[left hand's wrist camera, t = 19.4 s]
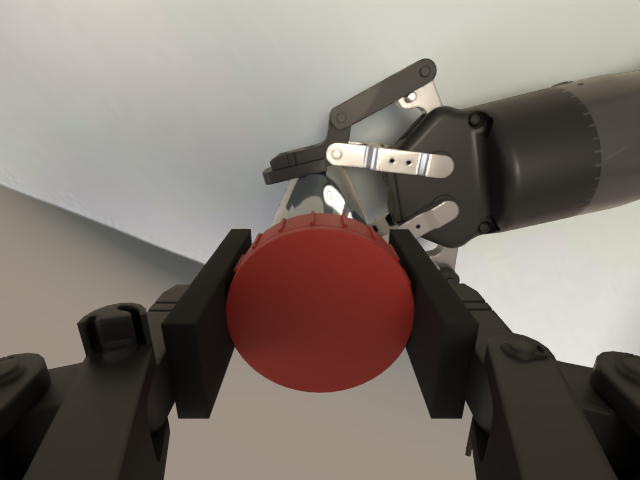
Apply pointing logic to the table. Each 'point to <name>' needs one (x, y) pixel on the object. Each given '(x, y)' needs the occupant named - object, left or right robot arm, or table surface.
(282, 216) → the jar
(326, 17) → the table surface
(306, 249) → the lid
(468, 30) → the table surface
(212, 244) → the table surface
